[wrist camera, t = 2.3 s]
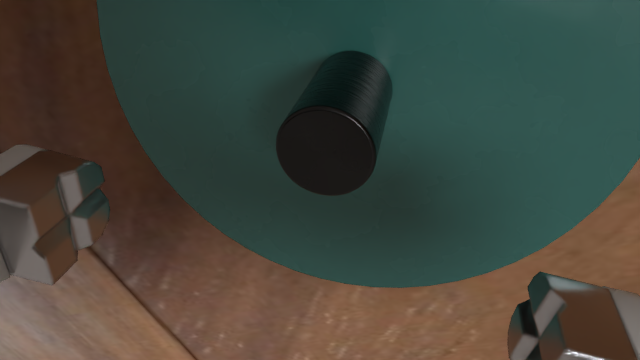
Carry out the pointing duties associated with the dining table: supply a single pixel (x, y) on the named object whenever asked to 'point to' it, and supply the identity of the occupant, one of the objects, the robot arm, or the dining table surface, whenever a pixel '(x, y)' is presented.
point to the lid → (383, 124)
